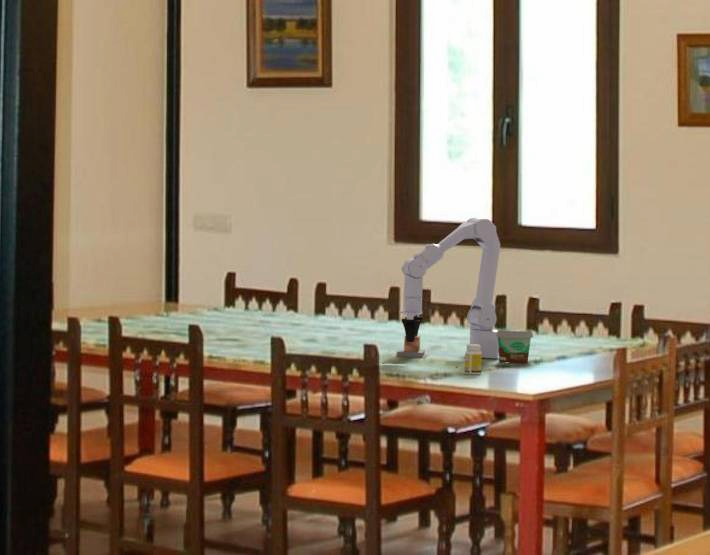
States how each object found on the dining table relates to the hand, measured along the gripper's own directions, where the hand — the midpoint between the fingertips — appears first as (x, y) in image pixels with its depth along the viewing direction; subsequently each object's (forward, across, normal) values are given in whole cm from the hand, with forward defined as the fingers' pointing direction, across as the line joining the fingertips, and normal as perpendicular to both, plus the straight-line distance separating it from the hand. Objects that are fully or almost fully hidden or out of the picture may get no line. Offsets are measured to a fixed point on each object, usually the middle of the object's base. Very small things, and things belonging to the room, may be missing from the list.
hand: (411, 340), depth 434 cm
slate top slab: (+5, 0, 0) cm, 5 cm away
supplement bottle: (+6, +30, +21) cm, 37 cm away
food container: (+6, -1, +33) cm, 33 cm away
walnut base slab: (+6, 0, 0) cm, 6 cm away
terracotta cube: (+3, 0, 0) cm, 3 cm away
